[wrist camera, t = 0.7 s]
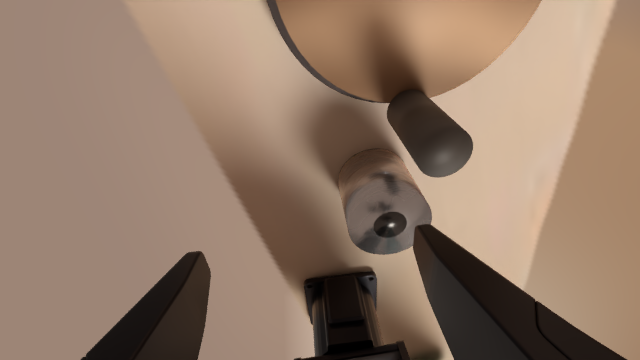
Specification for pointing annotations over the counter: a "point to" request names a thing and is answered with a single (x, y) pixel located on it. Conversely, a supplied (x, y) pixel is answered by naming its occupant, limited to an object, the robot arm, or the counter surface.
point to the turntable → (408, 59)
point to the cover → (381, 202)
